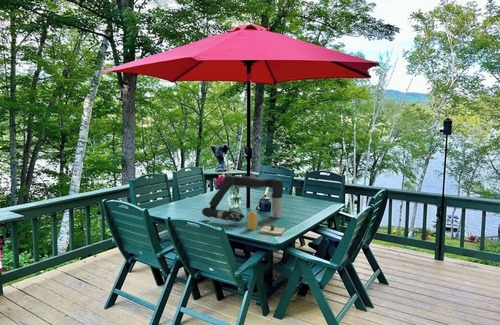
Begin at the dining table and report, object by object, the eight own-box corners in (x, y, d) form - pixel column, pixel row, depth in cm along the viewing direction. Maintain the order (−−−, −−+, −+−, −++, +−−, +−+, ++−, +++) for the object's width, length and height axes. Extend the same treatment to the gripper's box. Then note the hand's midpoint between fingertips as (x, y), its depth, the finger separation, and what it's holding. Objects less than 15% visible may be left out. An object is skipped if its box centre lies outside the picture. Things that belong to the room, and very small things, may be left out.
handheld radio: (239, 221, 277) (224, 214, 298) (242, 220, 279) (227, 214, 300) (239, 213, 276) (224, 207, 297) (242, 212, 278) (228, 206, 299)
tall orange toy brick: (247, 228, 254) (247, 212, 253) (251, 227, 259) (251, 210, 258) (253, 230, 252) (254, 213, 250) (257, 228, 256) (257, 211, 255)
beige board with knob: (264, 227, 257) (264, 220, 257) (285, 230, 252) (285, 223, 251) (258, 233, 244) (258, 225, 244) (281, 235, 238) (281, 228, 238)
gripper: (219, 212, 261) (236, 215, 253) (229, 208, 274) (246, 211, 266) (219, 221, 262) (236, 224, 254) (229, 217, 274) (246, 220, 266)
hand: (241, 217), depth 260 cm, fingers open, 8 cm apart
